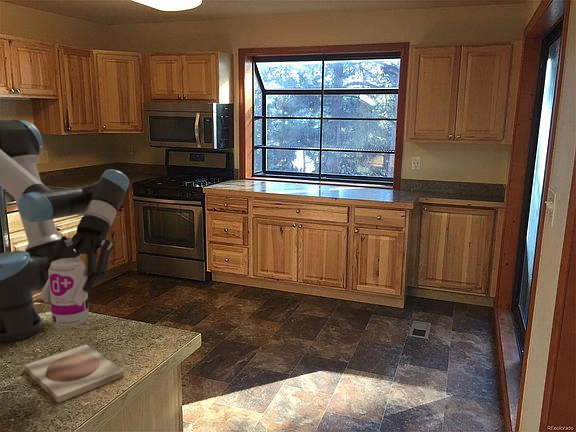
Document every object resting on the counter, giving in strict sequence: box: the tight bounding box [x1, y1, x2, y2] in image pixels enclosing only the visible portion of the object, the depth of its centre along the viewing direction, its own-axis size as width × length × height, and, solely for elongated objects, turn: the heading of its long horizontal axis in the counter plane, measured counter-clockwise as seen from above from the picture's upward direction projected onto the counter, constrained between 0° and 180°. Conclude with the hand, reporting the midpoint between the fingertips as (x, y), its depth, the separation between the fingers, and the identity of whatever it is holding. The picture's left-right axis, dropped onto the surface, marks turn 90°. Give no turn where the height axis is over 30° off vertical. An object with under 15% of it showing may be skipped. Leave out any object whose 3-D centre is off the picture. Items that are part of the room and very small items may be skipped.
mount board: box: [24, 344, 125, 404], centre depth 120 cm, size 20×16×2 cm
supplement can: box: [48, 257, 90, 327], centre depth 116 cm, size 8×8×15 cm
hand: (60, 301), depth 113 cm, fingers closed on supplement can, 8 cm apart
